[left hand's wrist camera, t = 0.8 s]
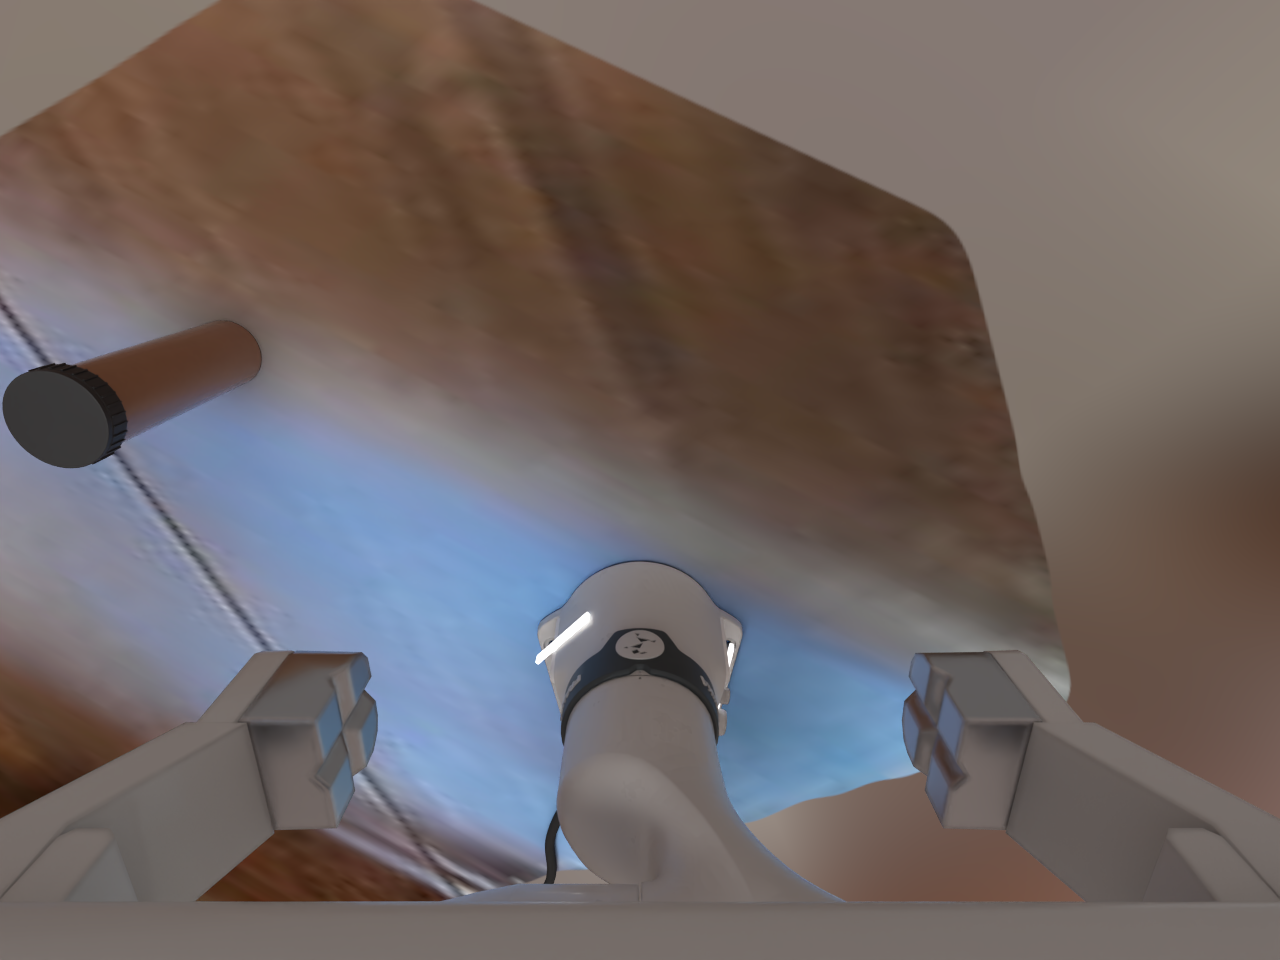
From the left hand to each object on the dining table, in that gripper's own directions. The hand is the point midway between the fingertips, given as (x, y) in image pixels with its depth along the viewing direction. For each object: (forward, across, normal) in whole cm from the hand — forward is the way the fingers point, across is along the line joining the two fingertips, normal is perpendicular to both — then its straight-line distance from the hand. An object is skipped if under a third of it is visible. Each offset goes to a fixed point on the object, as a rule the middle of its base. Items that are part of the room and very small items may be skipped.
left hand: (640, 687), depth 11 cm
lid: (+30, -33, -5) cm, 45 cm away
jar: (+48, -33, -5) cm, 58 cm away
